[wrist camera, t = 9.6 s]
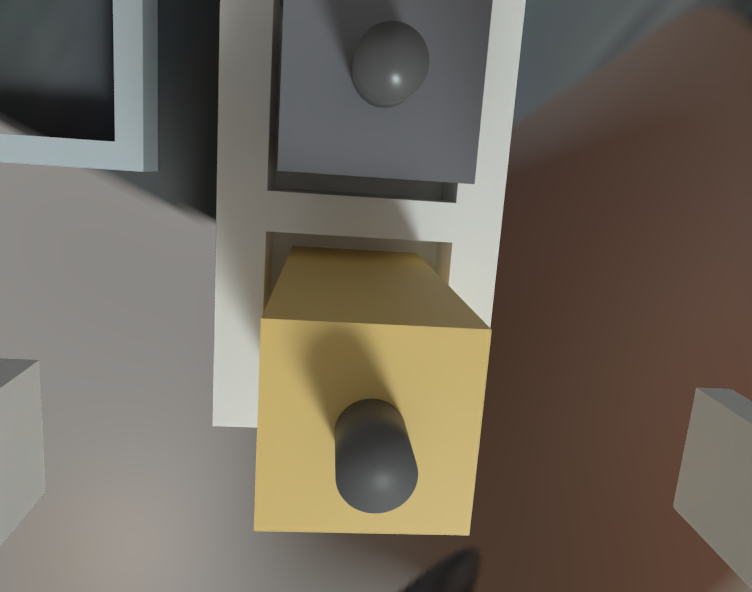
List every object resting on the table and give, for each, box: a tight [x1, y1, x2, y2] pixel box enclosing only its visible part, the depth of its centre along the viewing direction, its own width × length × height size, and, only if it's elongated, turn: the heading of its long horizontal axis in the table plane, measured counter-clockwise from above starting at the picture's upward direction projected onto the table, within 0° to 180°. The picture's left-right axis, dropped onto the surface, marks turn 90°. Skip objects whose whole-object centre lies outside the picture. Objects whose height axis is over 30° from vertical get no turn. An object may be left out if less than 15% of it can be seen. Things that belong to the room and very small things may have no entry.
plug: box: [254, 246, 492, 535], centre depth 19 cm, size 5×5×14 cm
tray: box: [0, 0, 158, 172], centre depth 23 cm, size 10×10×2 cm
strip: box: [213, 0, 526, 427], centre depth 19 cm, size 24×10×12 cm, turn 176°
